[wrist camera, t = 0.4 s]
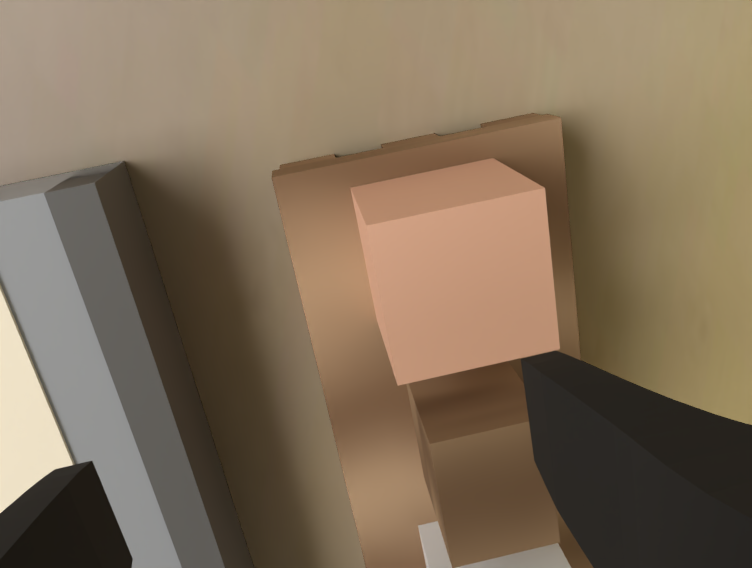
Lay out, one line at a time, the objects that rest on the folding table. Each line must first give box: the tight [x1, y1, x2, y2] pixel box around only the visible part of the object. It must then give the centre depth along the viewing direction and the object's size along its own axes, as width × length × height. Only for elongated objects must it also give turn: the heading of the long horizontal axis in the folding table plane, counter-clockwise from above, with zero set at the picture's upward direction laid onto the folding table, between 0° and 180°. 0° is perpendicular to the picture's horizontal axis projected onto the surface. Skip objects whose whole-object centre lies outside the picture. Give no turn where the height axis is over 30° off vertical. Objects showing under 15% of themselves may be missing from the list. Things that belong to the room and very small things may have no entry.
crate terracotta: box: [351, 158, 560, 386], centre depth 17 cm, size 4×4×4 cm
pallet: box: [272, 113, 593, 568], centre depth 20 cm, size 17×8×6 cm, turn 11°
